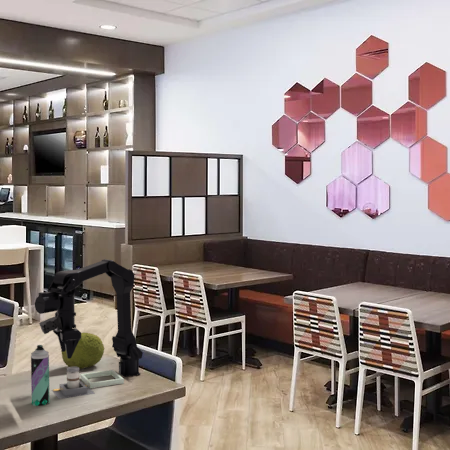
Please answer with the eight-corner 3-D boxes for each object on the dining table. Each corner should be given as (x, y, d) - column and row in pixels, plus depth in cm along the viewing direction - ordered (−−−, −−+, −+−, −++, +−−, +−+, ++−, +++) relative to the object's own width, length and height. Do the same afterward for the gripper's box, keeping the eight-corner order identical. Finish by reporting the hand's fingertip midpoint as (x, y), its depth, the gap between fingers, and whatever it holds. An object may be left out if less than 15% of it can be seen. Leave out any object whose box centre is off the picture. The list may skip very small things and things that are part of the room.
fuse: (77, 389, 221) (77, 365, 221) (81, 392, 218) (80, 368, 217) (65, 390, 219) (65, 367, 219) (68, 394, 216) (68, 370, 215)
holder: (86, 389, 226) (86, 379, 225) (95, 397, 217) (95, 387, 217) (51, 394, 220) (51, 384, 220) (58, 403, 211) (58, 392, 211)
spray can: (31, 405, 209) (30, 344, 208) (48, 403, 211) (47, 342, 210) (32, 411, 204) (31, 348, 203) (50, 409, 206) (49, 346, 205)
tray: (113, 378, 238) (112, 369, 238) (123, 387, 228) (123, 378, 228) (80, 382, 233) (80, 374, 233) (90, 392, 222) (90, 383, 222)
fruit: (79, 359, 262) (97, 327, 262) (98, 379, 254) (117, 346, 253) (48, 355, 250) (66, 321, 249) (67, 376, 241) (87, 340, 240)
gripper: (36, 306, 225) (36, 350, 226) (46, 316, 208) (47, 364, 209) (68, 303, 229) (69, 347, 231) (81, 313, 213) (82, 360, 214)
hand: (66, 354), depth 221 cm, fingers open, 9 cm apart
